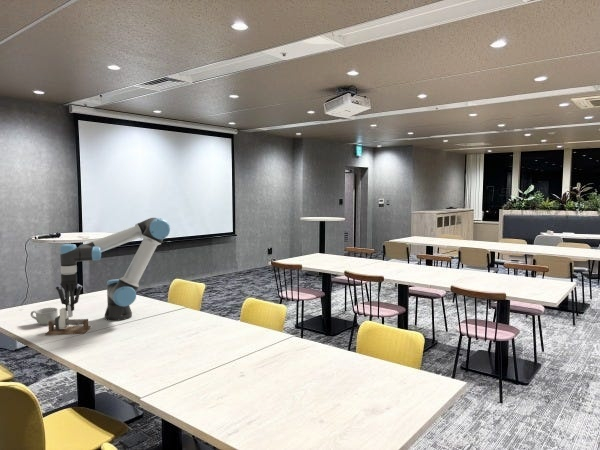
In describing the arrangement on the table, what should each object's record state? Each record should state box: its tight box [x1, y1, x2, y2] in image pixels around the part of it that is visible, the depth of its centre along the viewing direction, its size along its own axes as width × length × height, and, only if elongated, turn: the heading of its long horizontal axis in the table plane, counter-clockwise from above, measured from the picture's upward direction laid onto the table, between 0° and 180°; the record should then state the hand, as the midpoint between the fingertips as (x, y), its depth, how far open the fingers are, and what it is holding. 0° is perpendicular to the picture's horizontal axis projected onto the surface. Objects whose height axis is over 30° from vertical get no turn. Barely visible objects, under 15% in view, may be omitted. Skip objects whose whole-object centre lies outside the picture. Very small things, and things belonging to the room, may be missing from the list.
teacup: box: [30, 307, 59, 326], centre depth 243 cm, size 14×11×8 cm
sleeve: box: [59, 307, 70, 329], centre depth 230 cm, size 3×6×10 cm, turn 8°
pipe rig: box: [44, 318, 92, 336], centre depth 230 cm, size 19×11×6 cm, turn 98°
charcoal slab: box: [54, 314, 60, 330], centre depth 229 cm, size 2×6×6 cm, turn 8°
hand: (70, 316), depth 230 cm, fingers closed
